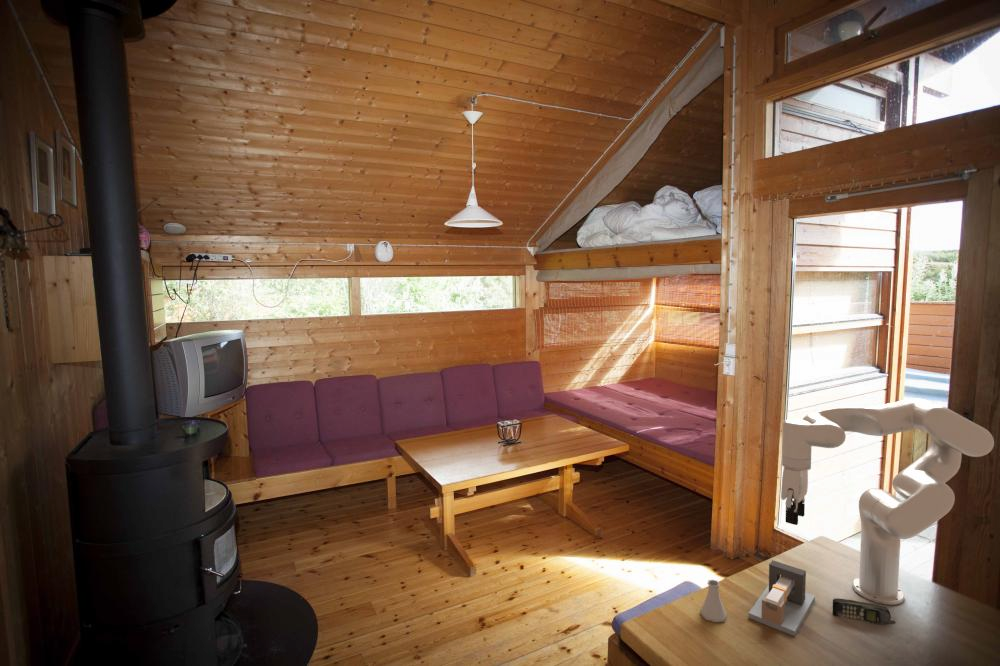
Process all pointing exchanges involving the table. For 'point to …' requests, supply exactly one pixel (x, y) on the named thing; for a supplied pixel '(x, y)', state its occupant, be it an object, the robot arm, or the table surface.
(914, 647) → the table surface
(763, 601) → the pipe stand
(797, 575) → the collar
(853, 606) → the mobile phone
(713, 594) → the flask
